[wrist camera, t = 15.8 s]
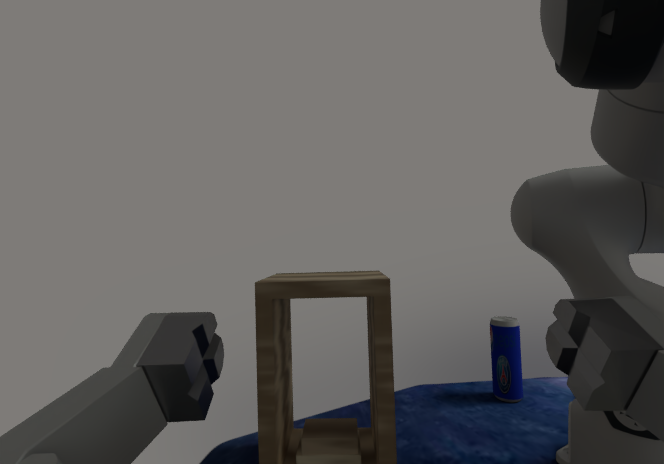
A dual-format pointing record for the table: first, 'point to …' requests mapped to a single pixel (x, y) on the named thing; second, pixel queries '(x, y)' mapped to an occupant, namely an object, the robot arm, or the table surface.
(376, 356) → the frame
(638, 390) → the robot arm
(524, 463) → the table surface
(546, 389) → the table surface
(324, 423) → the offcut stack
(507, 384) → the beverage can
